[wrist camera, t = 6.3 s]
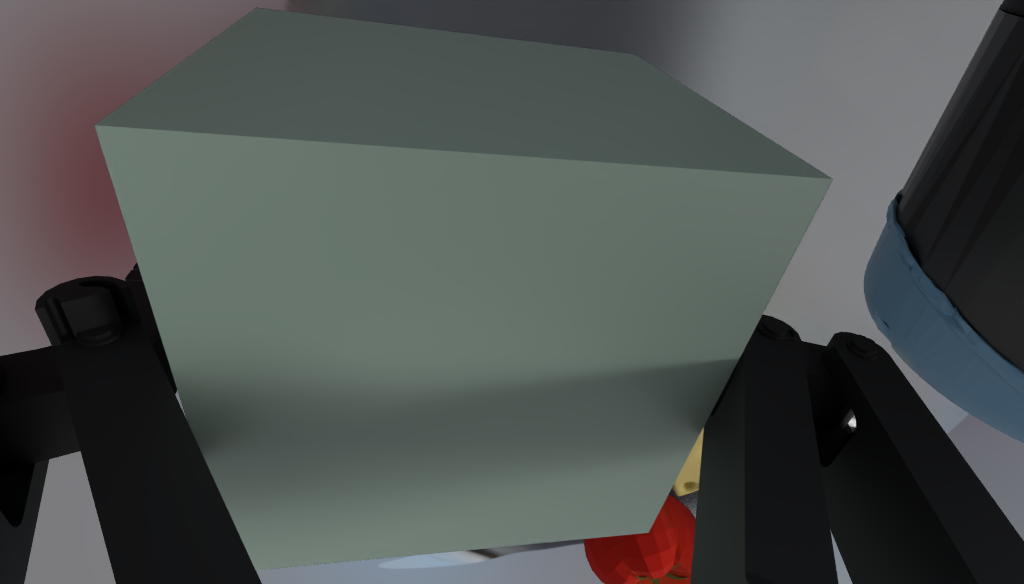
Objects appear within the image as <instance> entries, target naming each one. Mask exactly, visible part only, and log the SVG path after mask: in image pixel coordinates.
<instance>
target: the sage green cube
mask: <svg viewBox="0 0 1024 584" xmlns="http://www.w3.org/2000/svg"><path fill="white" fill-rule="evenodd" d="M95 129H96V132H97V135H98V138H99V142H100V145H101V148H102V151H103V154H104V157H105V160H106V164H107V167H108V170H109V173H110V176H111V180H112V183H113V186H114V189H115V192H116V195H117V199H118V202H119V205H120V209H121V212H122V215H123V218H124V221H125V224H126V228H127V231H128V234H129V237H130V240H131V244H132V247H133V250H134V253H135V256H136V260H137V263H138V266H139V269H140V272H141V275H142V279H143V282H144V285H145V288H146V291H147V295H148V298H149V301H150V304H151V307H152V311H153V314H154V317H155V320H156V323H157V326H158V330H159V333H160V336H161V339H162V342H163V346H164V349H165V352H166V355H167V358H168V362H169V365H170V368H171V371H172V374H173V378H174V381H175V384H176V387H177V390H178V393H179V397H180V400H181V403H182V406H183V409H184V413H185V416H186V419H187V422H188V424H189V426H190V428H191V431H192V433H193V435H194V437H195V439H196V441H197V444H198V446H199V448H200V450H201V452H202V455H203V457H204V459H205V461H206V463H207V465H208V468H209V470H210V472H211V474H212V476H213V478H214V481H215V483H216V485H217V487H218V489H219V492H220V494H221V496H222V498H223V500H224V502H225V505H226V507H227V509H228V511H229V513H230V516H231V518H232V520H233V522H234V524H235V526H236V529H237V531H238V533H239V535H240V537H241V539H242V542H243V544H244V546H245V548H246V550H247V553H248V555H249V557H250V559H251V561H252V563H253V566H254V568H255V570H266V569H276V568H286V567H296V566H308V565H318V564H329V563H339V562H349V561H359V560H370V559H380V558H391V557H401V556H412V555H422V554H433V553H443V552H453V551H464V550H474V549H485V548H495V547H505V546H516V545H526V544H537V543H547V542H557V541H568V540H578V539H589V538H599V537H609V536H620V535H630V534H641V533H649V531H650V529H651V527H652V525H653V523H654V521H655V519H656V517H657V515H658V513H659V512H660V510H661V508H662V506H663V504H664V502H665V500H666V498H667V496H668V494H669V492H670V491H671V489H672V487H673V485H674V483H675V481H676V479H677V477H678V475H679V473H680V471H681V469H682V468H683V466H684V464H685V462H686V460H687V458H688V456H689V454H690V452H691V450H692V448H693V446H694V445H695V443H696V441H697V439H698V437H699V435H700V433H701V431H702V429H703V427H704V425H705V424H706V422H707V420H708V418H709V416H710V414H711V412H712V410H713V408H714V406H715V404H716V402H717V401H718V399H719V397H720V395H721V393H722V391H723V389H724V387H725V385H726V383H727V381H728V379H729V378H730V376H731V374H732V372H733V370H734V368H735V366H736V364H737V362H738V360H739V358H740V357H741V355H742V353H743V351H744V349H745V347H746V345H747V343H748V341H749V339H750V337H751V335H752V334H753V332H754V330H755V328H756V326H757V324H758V322H759V320H760V318H761V316H762V314H763V312H764V311H765V309H766V307H767V305H768V303H769V301H770V299H771V297H772V295H773V293H774V291H775V290H776V288H777V286H778V284H779V282H780V280H781V278H782V276H783V274H784V272H785V270H786V268H787V267H788V265H789V263H790V261H791V259H792V257H793V255H794V253H795V251H796V249H797V247H798V245H799V244H800V242H801V240H802V238H803V236H804V234H805V232H806V230H807V228H808V226H809V224H810V223H811V221H812V219H813V217H814V215H815V213H816V211H817V209H818V207H819V205H820V203H821V201H822V200H823V198H824V196H825V194H826V192H827V190H828V188H829V186H830V184H831V182H832V180H833V179H832V178H831V177H829V176H827V175H826V174H824V173H823V172H821V171H819V170H818V169H816V168H815V167H813V166H812V165H810V164H808V163H807V162H805V161H804V160H802V159H800V158H799V157H797V156H796V155H794V154H792V153H791V152H789V151H788V150H786V149H785V148H783V147H781V146H780V145H778V144H777V143H775V142H773V141H772V140H770V139H769V138H767V137H765V136H764V135H762V134H761V133H759V132H758V131H756V130H754V129H753V128H751V127H750V126H748V125H746V124H745V123H743V122H742V121H740V120H738V119H737V118H735V117H734V116H732V115H731V114H729V113H727V112H726V111H724V110H723V109H721V108H719V107H718V106H716V105H715V104H713V103H711V102H710V101H708V100H707V99H705V98H704V97H702V96H700V95H699V94H697V93H696V92H694V91H692V90H691V89H689V88H688V87H686V86H684V85H683V84H681V83H680V82H678V81H677V80H675V79H673V78H672V77H670V76H669V75H667V74H665V73H664V72H662V71H661V70H659V69H657V68H656V67H654V66H653V65H651V64H650V63H648V62H646V61H645V60H643V59H642V58H640V57H638V56H637V55H635V54H628V53H620V52H612V51H604V50H596V49H588V48H580V47H572V46H564V45H555V44H547V43H539V42H531V41H523V40H515V39H507V38H499V37H491V36H483V35H474V34H466V33H458V32H450V31H442V30H434V29H426V28H418V27H410V26H402V25H393V24H385V23H377V22H369V21H361V20H353V19H345V18H337V17H329V16H321V15H313V14H304V13H296V12H288V11H280V10H272V9H264V8H255V9H254V10H253V11H251V12H250V13H248V14H247V15H246V16H244V17H243V18H241V19H240V20H239V21H237V22H236V23H235V24H233V25H232V26H230V27H229V28H228V29H226V30H225V31H224V32H222V33H221V34H219V35H218V36H217V37H215V38H214V39H213V40H211V41H210V42H209V43H207V44H206V45H204V46H203V47H201V48H200V49H199V50H197V51H196V52H195V53H193V54H192V55H190V56H189V57H188V58H187V59H185V60H184V61H182V62H181V63H179V64H178V65H177V66H175V67H174V68H173V69H171V70H170V71H169V72H167V73H166V74H164V75H163V76H162V77H160V78H159V79H158V80H156V81H155V82H153V83H152V84H150V85H149V86H148V87H146V88H145V89H144V90H142V91H141V92H140V93H138V94H137V95H135V96H134V97H133V98H131V99H130V100H129V101H127V102H126V103H124V104H123V105H122V106H120V107H119V108H117V109H116V110H115V111H113V112H112V113H111V114H109V115H108V116H107V117H105V118H104V119H103V120H101V121H99V122H98V123H97V124H95Z"/></svg>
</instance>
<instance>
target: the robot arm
mask: <svg viewBox="0 0 1024 584" xmlns="http://www.w3.org/2000/svg"><path fill="white" fill-rule="evenodd" d="M133 268H134V269H133V270H131V272H130V273H129V274H128V275H127V277H126V278H125V279H126V280H125V281H124V280H120V279H117V278H114V277H107V276H92V277H84V278H77V279H74V280H71V281H68V282H65V283H61V284H59V285H57V286H55V287H53V288H51V289H50V290H48V291H46V292H45V293H44V294H43V295H42V296H41V297H40V298H39V299H38V300H37V301H36V306H35V311H36V313H37V315H38V317H39V319H40V321H41V323H42V325H43V327H44V329H45V332H46V334H47V336H48V338H49V340H50V342H51V344H52V346H49V347H45V348H40V349H36V350H31V351H25V352H20V353H15V354H9V355H3V356H0V584H24V581H25V576H26V571H27V566H28V562H29V556H30V552H31V547H32V542H33V537H34V532H35V527H36V522H37V517H38V512H39V507H40V502H41V498H42V492H43V487H44V483H45V478H46V473H47V468H48V463H49V459H52V458H55V457H59V456H63V455H67V454H70V453H74V452H78V451H81V454H82V458H83V462H84V466H85V469H86V473H87V476H88V481H89V484H90V488H91V492H92V495H93V499H94V502H95V507H96V510H97V514H98V518H99V521H100V525H101V529H102V533H103V536H104V540H105V544H106V548H107V551H108V555H109V559H110V563H111V566H112V570H113V573H114V578H115V581H116V584H262V583H261V581H260V579H259V577H258V575H257V572H256V570H255V568H254V566H253V563H252V561H251V559H250V557H249V555H248V553H247V550H246V548H245V546H244V544H243V542H242V539H241V537H240V535H239V533H238V531H237V529H236V526H235V524H234V522H233V520H232V518H231V516H230V513H229V511H228V509H227V507H226V505H225V502H224V500H223V498H222V496H221V494H220V492H219V489H218V487H217V485H216V483H215V481H214V478H213V476H212V474H211V472H210V470H209V468H208V465H207V463H206V461H205V459H204V457H203V455H202V452H201V450H200V448H199V446H198V444H197V441H196V439H195V437H194V435H193V433H192V431H191V428H190V426H189V424H188V422H187V420H186V417H185V415H184V413H183V411H182V409H181V407H180V405H179V402H178V400H177V398H176V396H175V394H176V392H177V387H176V384H175V381H174V378H173V374H172V371H171V368H170V365H169V362H168V358H167V355H166V352H165V349H164V346H163V342H162V339H161V336H160V333H159V330H158V326H157V323H156V320H155V317H154V314H153V311H152V307H151V304H150V301H149V298H148V295H147V291H146V288H145V285H144V282H143V279H142V275H141V272H140V269H139V266H138V263H136V264H135V266H134V267H133ZM864 294H865V299H866V303H867V306H868V309H869V312H870V314H871V316H872V318H873V320H874V321H875V323H876V325H877V327H878V329H879V330H880V331H881V332H882V334H883V335H884V336H885V337H886V338H887V339H888V340H889V341H890V342H891V345H892V348H893V349H894V351H895V352H896V353H897V354H898V355H899V357H900V358H901V359H902V360H903V361H904V362H905V363H906V364H907V365H908V366H909V367H910V368H911V369H912V370H913V371H914V372H915V373H917V374H918V375H919V376H920V377H921V378H922V379H923V380H925V381H926V382H927V383H928V384H929V385H931V386H932V387H933V388H934V389H935V390H937V391H938V392H939V393H941V394H942V395H943V396H945V397H946V398H947V399H949V400H950V401H951V402H953V403H954V404H956V405H957V406H959V407H960V408H962V409H963V410H965V411H966V412H968V413H970V414H971V415H973V416H974V417H976V418H978V419H979V420H981V421H983V422H984V423H986V424H988V425H990V426H991V427H993V428H995V429H997V430H999V431H1001V432H1003V433H1004V434H1006V435H1008V436H1010V437H1012V438H1014V439H1017V440H1019V441H1021V442H1023V443H1024V0H1004V1H1003V3H1002V4H1001V6H1000V7H999V9H998V11H997V13H996V15H995V16H994V18H993V20H992V22H991V24H990V26H989V28H988V30H987V31H986V33H985V35H984V37H983V39H982V41H981V43H980V45H979V47H978V48H977V50H976V52H975V54H974V56H973V58H972V60H971V62H970V64H969V65H968V67H967V69H966V71H965V73H964V75H963V77H962V79H961V81H960V82H959V84H958V86H957V88H956V90H955V92H954V94H953V96H952V97H951V99H950V101H949V103H948V105H947V107H946V109H945V111H944V113H943V114H942V116H941V118H940V120H939V122H938V124H937V126H936V128H935V130H934V131H933V133H932V135H931V137H930V139H929V141H928V143H927V145H926V147H925V148H924V150H923V152H922V154H921V156H920V158H919V160H918V162H917V164H916V165H915V167H914V169H913V171H912V173H911V175H910V177H909V179H908V180H907V182H906V184H905V186H904V188H903V189H902V190H900V191H899V192H898V193H897V195H896V197H895V199H893V200H892V201H891V203H890V205H889V206H888V211H887V223H886V225H885V227H884V229H883V231H882V234H881V236H880V238H879V240H878V242H877V244H876V247H875V249H874V251H873V253H872V255H871V258H870V260H869V262H868V264H867V268H866V271H865V276H864ZM854 415H855V418H856V428H855V431H854V432H853V431H852V430H851V428H850V426H849V424H848V423H849V421H850V420H851V419H852V417H853V416H854ZM830 529H831V532H832V534H833V537H834V539H835V542H836V544H837V546H838V549H839V551H840V554H841V556H842V559H843V561H844V564H845V566H846V568H847V571H848V573H849V576H850V578H851V581H852V583H853V584H1024V541H1023V540H1022V538H1021V537H1020V535H1019V534H1018V533H1017V531H1016V530H1015V529H1014V527H1013V526H1012V525H1011V523H1010V522H1009V520H1008V519H1007V517H1006V516H1005V515H1004V513H1003V512H1002V510H1001V509H1000V508H999V506H998V505H997V504H996V502H995V501H994V499H993V498H992V497H991V495H990V494H989V492H988V491H987V490H986V488H985V487H984V485H983V484H982V483H981V481H980V480H979V479H978V477H977V476H976V475H975V473H974V472H973V470H972V469H971V468H970V466H969V465H968V463H967V462H966V461H965V460H964V458H963V457H962V455H961V454H960V452H959V451H958V449H957V448H956V447H955V445H954V444H953V442H952V441H951V440H950V438H949V437H948V436H947V434H946V433H945V431H944V430H943V429H942V427H941V426H940V424H939V423H938V422H937V420H936V419H935V418H934V416H933V415H932V413H931V412H930V411H929V409H928V408H927V406H926V405H925V404H924V402H923V401H922V399H921V398H920V397H919V395H918V394H917V393H916V391H915V390H914V388H913V387H912V386H911V384H910V383H909V381H908V380H907V379H906V377H905V376H904V374H903V373H902V372H901V370H900V369H899V368H898V366H897V365H896V363H895V362H894V361H893V359H892V358H891V356H890V355H889V354H888V353H887V352H886V351H885V350H884V349H883V348H882V347H881V346H879V345H878V344H876V343H875V342H874V341H873V340H871V339H869V338H866V337H865V336H862V335H857V334H854V333H849V332H839V333H836V334H834V336H833V337H832V339H831V340H830V342H829V343H828V345H827V346H822V345H818V344H813V343H808V342H804V341H801V339H800V337H799V334H798V333H797V332H796V331H795V330H794V329H793V328H792V327H791V326H789V325H788V324H786V323H785V322H783V321H781V320H779V319H776V318H774V317H771V316H767V315H762V316H761V318H760V320H759V322H758V324H757V326H756V328H755V330H754V332H753V334H752V335H751V337H750V339H749V341H748V343H747V345H746V347H745V349H744V351H743V353H742V355H741V357H740V358H739V360H738V362H737V364H736V366H735V368H734V370H733V372H732V374H731V376H730V378H729V379H728V381H727V383H726V385H725V387H724V389H723V391H722V393H721V395H720V397H719V399H718V401H717V402H716V404H715V406H714V408H713V410H712V412H711V414H710V416H709V418H708V420H707V422H706V424H705V425H704V431H703V443H702V454H701V466H700V477H699V489H698V500H697V512H696V524H695V535H694V547H693V558H692V570H691V581H690V584H838V579H837V571H836V565H835V558H834V551H833V545H832V538H831V532H830Z"/></svg>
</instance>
